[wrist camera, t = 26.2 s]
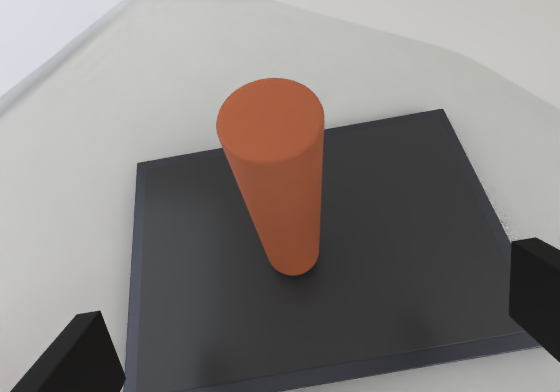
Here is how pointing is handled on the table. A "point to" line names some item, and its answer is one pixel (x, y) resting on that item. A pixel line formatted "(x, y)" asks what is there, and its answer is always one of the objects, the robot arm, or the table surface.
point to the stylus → (278, 166)
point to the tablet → (319, 269)
